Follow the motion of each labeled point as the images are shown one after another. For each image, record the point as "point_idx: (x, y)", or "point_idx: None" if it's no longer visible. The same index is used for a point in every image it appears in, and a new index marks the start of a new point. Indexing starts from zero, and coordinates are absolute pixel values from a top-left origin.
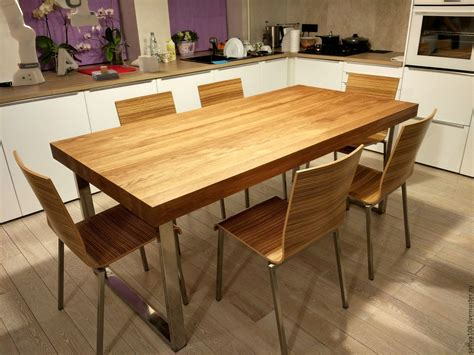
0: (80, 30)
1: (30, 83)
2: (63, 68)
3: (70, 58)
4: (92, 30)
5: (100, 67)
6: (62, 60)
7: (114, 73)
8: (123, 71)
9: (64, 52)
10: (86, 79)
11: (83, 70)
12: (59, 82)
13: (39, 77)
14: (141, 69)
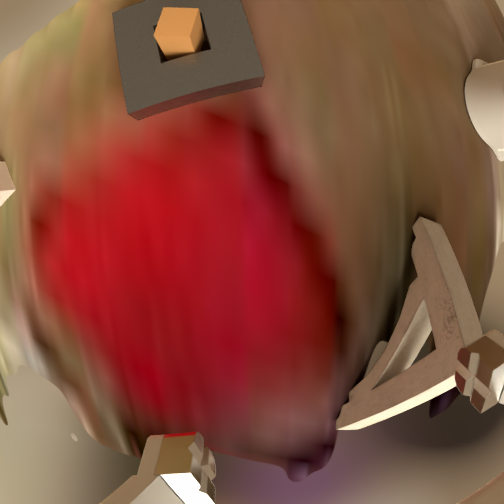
0: (500, 359)
1: (488, 63)
2: (430, 242)
3: (395, 390)
4: (180, 452)
5: (198, 9)
6: (452, 285)
7: (132, 6)
8: (84, 221)
9: (458, 341)
10: (290, 37)
11: (317, 352)
12: (406, 37)
13: (483, 74)
14: (3, 176)
